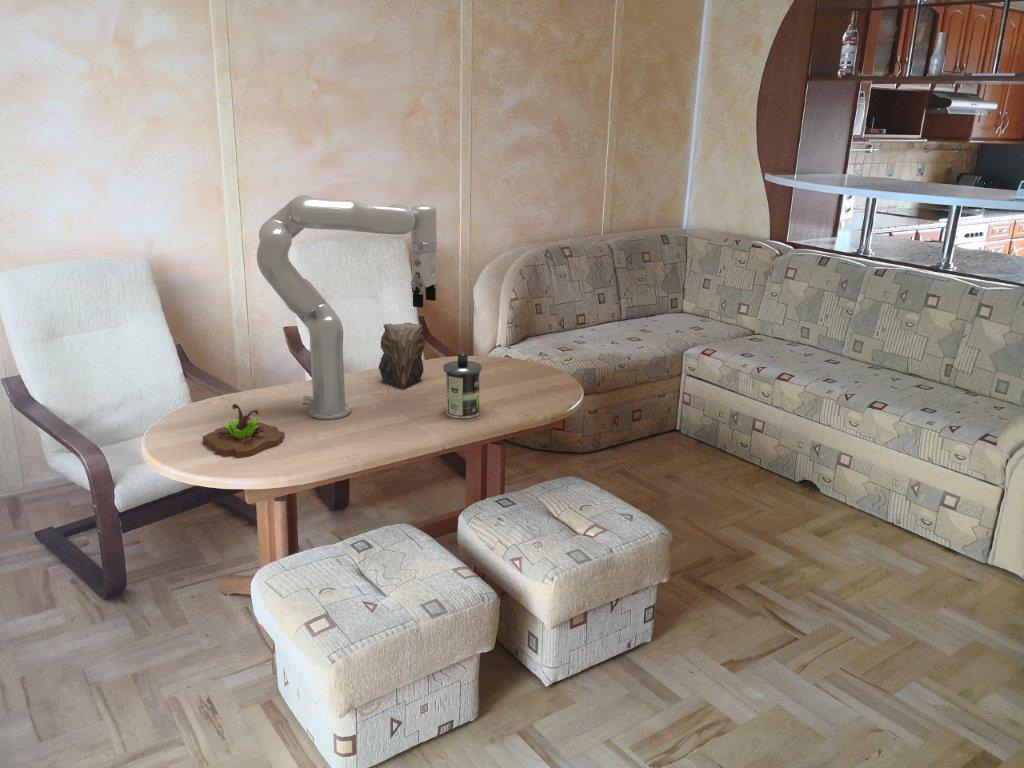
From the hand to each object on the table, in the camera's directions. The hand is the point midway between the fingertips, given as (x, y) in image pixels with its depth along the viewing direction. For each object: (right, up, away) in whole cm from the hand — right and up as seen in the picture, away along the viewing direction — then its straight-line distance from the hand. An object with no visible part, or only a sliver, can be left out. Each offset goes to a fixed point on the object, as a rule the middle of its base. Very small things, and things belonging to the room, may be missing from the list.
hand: (424, 303), depth 257 cm
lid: (+12, -20, -2) cm, 23 cm away
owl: (-11, -24, +28) cm, 39 cm away
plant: (-48, -41, -22) cm, 67 cm away
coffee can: (+11, -34, +3) cm, 36 cm away
